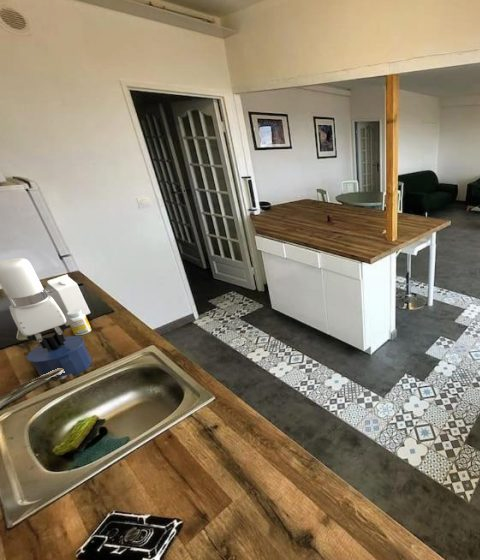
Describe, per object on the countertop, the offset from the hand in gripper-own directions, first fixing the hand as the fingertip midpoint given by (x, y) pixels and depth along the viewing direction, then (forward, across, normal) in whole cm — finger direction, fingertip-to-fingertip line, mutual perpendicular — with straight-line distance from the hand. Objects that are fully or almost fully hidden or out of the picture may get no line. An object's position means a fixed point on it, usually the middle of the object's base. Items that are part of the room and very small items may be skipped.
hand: (55, 346), depth 103 cm
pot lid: (+1, 0, 0) cm, 1 cm away
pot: (+10, 0, 0) cm, 10 cm away
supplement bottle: (+10, -10, -24) cm, 28 cm away
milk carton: (+10, -12, -42) cm, 45 cm away
